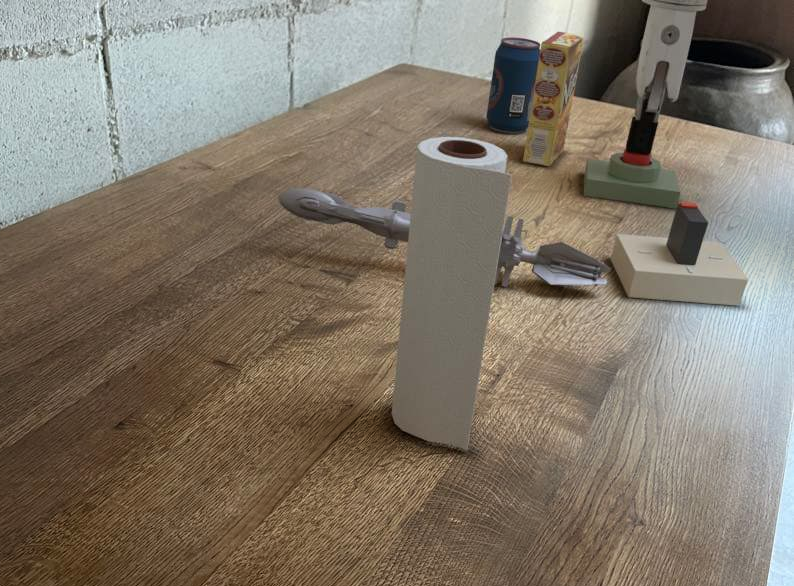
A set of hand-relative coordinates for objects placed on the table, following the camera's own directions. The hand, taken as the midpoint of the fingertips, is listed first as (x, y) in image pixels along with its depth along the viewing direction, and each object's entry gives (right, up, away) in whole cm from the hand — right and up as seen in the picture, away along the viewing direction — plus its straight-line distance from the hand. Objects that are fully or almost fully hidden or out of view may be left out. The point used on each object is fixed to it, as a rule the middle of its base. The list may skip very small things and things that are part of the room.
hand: (637, 151), depth 120 cm
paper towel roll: (-29, -42, -46) cm, 69 cm away
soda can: (-14, +13, +22) cm, 29 cm away
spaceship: (-27, -23, -23) cm, 42 cm away
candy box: (-10, +4, +12) cm, 16 cm away
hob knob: (-1, -20, -21) cm, 29 cm away
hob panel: (-1, -23, -19) cm, 30 cm away
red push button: (0, -1, +1) cm, 2 cm away
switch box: (0, -4, +3) cm, 5 cm away
